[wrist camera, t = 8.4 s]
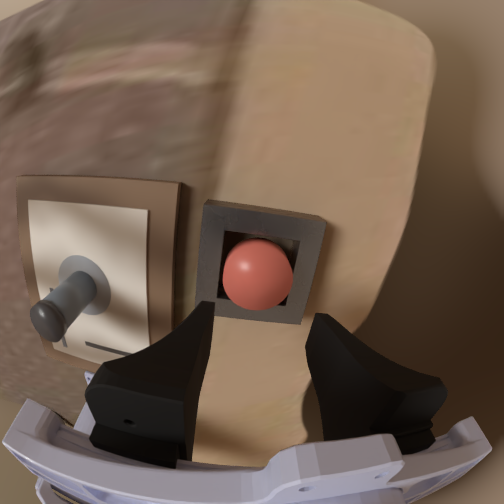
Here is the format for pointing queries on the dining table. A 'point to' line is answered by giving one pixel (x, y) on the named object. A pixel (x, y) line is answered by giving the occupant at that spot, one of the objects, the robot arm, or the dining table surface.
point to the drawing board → (102, 258)
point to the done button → (257, 274)
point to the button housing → (267, 224)
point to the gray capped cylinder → (63, 306)
